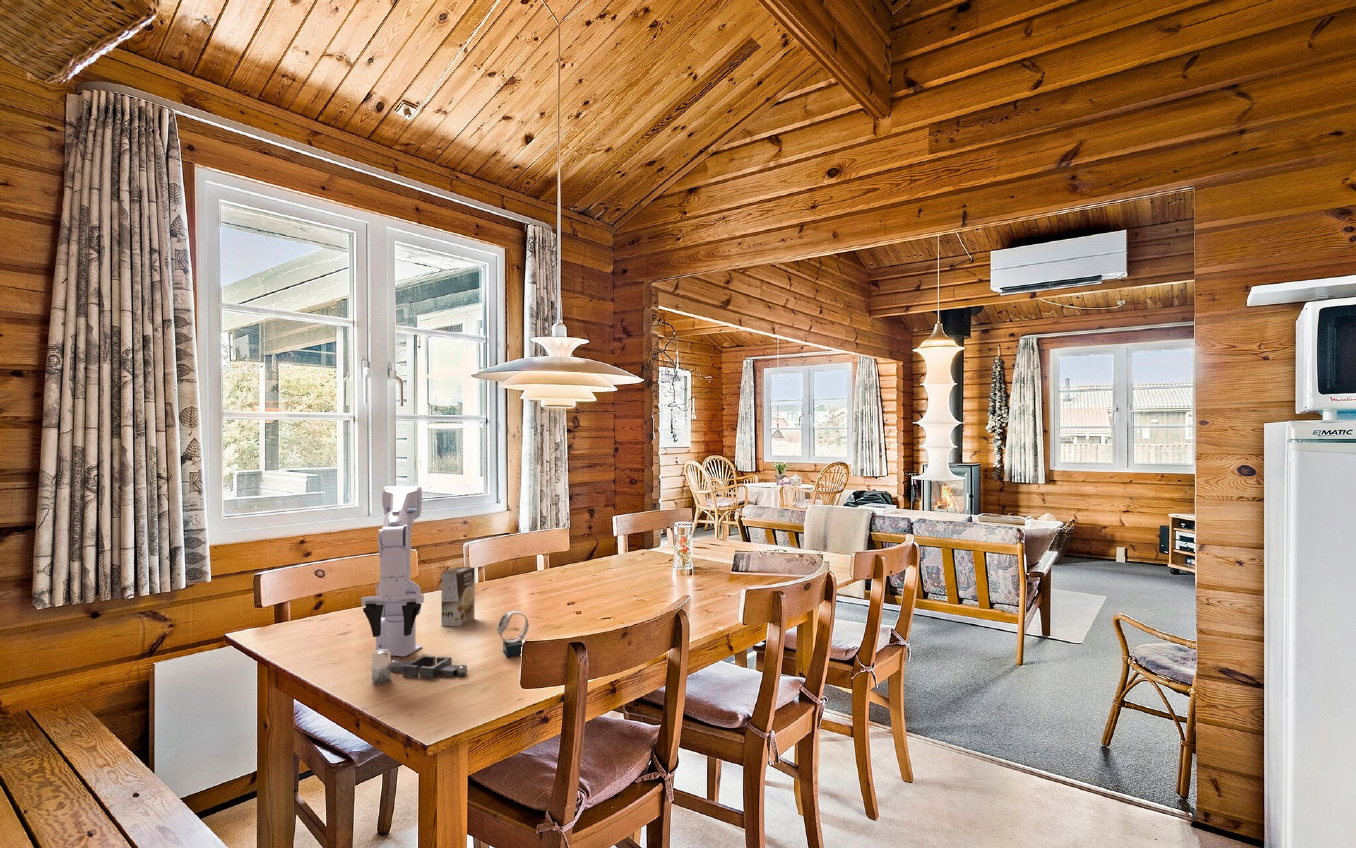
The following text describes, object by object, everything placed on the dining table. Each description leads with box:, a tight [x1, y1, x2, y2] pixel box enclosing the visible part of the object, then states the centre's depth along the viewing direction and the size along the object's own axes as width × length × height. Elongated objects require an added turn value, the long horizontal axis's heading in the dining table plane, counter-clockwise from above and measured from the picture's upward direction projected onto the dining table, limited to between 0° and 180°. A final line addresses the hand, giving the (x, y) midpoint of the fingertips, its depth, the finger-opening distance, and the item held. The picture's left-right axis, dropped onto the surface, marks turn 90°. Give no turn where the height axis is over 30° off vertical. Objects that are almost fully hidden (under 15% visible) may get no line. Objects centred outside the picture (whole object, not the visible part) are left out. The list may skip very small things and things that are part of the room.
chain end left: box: [391, 654, 437, 678], centre depth 170 cm, size 10×8×2 cm
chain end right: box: [419, 656, 468, 680], centre depth 167 cm, size 10×8×2 cm
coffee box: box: [440, 566, 476, 627], centre depth 211 cm, size 9×6×16 cm
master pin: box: [371, 649, 392, 686], centre depth 162 cm, size 4×4×7 cm
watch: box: [496, 610, 530, 659], centre depth 182 cm, size 6×8×11 cm
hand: (392, 636), depth 163 cm, fingers open, 7 cm apart
